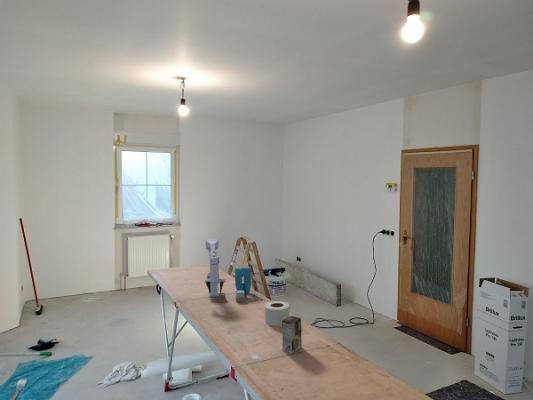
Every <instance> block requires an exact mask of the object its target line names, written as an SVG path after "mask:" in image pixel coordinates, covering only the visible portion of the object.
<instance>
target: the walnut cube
mask: <svg viewBox="0 0 533 400" xmlns="http://www.w3.org/2000/svg"><path fill="white" fill-rule="evenodd" d="M218 294H219V296H218V302H220V303H221V302H226V300H227V299H226V292H221V293H220V292H218Z"/></svg>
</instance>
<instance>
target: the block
mask: <svg viewBox="0 0 533 400" xmlns="http://www.w3.org/2000/svg"><path fill="white" fill-rule="evenodd" d="M251 270H252V267H250V266H245V267H237V268H234V281H235V282H234V284H235V289H236V290H235V291H240V290H244V293H245V295H248V294H250V292H251V291H250V290H251V289H252V288H251V286H252V271H251ZM243 281H244V282H243Z"/></svg>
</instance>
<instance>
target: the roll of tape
mask: <svg viewBox="0 0 533 400" xmlns="http://www.w3.org/2000/svg"><path fill="white" fill-rule="evenodd" d="M290 312H291V311H290V303H288V302H286V301H281V300H278V301H275V300H274V301H269V302H267V303H266V304H265V305H264V319H265V320H264V322H265V324H266V325H268V326H271V327H282V321H283V320H285V319H286V318H288V317H290V315H291V314H290Z"/></svg>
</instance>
